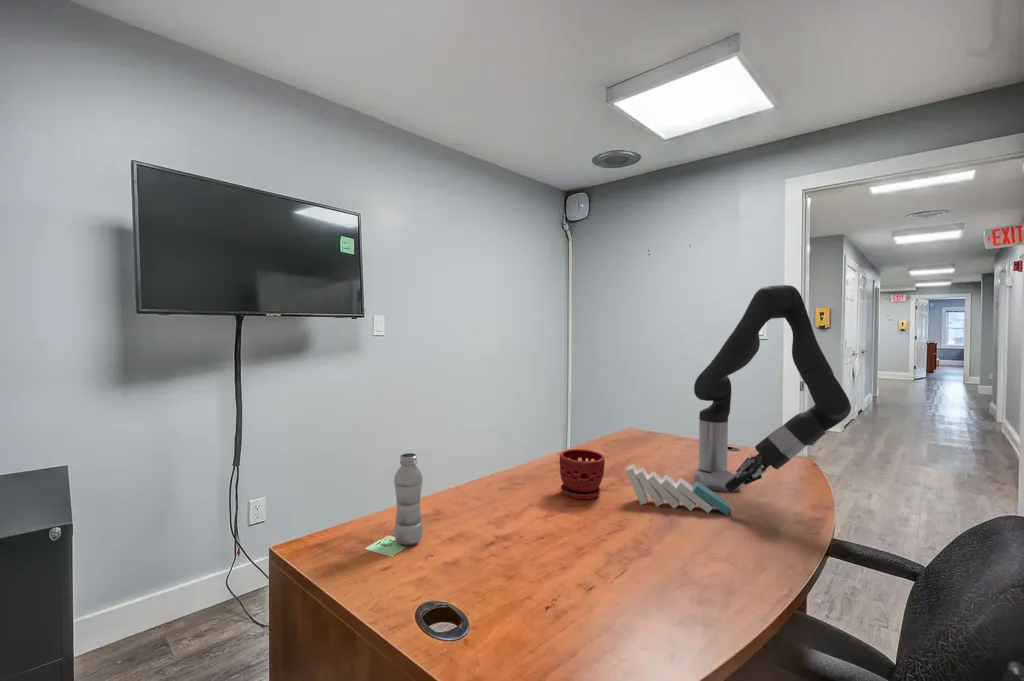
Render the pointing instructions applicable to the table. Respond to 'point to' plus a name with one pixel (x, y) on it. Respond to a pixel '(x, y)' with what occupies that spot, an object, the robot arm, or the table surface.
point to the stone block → (715, 480)
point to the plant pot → (581, 473)
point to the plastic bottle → (408, 501)
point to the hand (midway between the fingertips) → (727, 488)
